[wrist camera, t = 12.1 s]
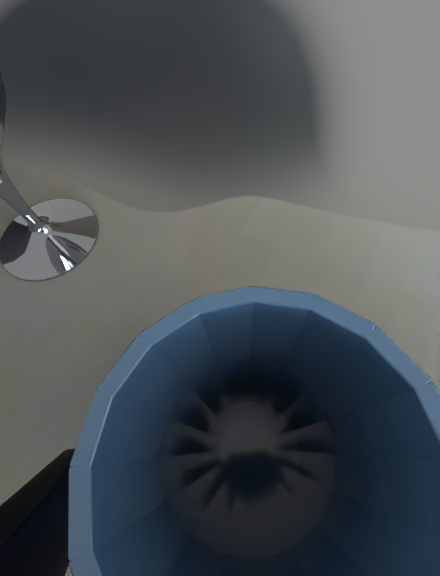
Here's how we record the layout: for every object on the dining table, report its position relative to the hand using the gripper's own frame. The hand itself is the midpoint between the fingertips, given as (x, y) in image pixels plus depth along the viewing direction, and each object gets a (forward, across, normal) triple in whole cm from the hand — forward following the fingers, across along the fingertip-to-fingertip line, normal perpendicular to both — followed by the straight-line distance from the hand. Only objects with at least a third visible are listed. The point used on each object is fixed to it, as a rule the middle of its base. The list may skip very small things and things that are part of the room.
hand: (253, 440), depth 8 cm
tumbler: (+5, 0, +6) cm, 8 cm away
